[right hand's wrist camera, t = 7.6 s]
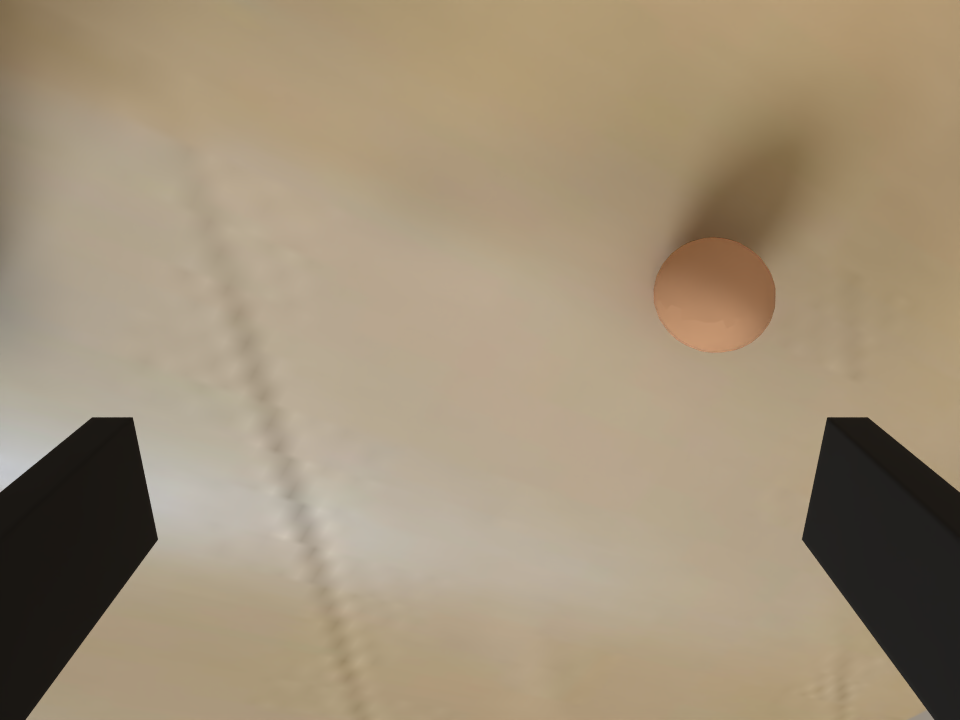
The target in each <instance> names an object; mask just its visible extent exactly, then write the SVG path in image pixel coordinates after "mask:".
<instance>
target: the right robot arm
mask: <svg viewBox="0 0 960 720" xmlns="http://www.w3.org/2000/svg"><path fill="white" fill-rule="evenodd" d="M157 540H158V537H157V532H156V528H155V523H154V518H153V513H152V508H151V503H150V499H149V494H148V489H147V484H146V479H145V474H144V470H143V465H142V460H141V455H140V450H139V445H138V441H137V436H136V431H135V426H134V421H133V417H92V418H91V419H90V420H89V421H87V422H86V423H85V424H84V425H82V426H81V427H80V428H79V429H77V430H76V431H75V432H74V433H73V434H71V435H70V436H69V437H68V438H66V439H65V440H64V441H63V442H62V443H60V444H59V445H58V446H57V447H55V448H54V449H53V450H52V451H51V452H49V453H48V454H47V455H46V456H44V457H43V458H42V459H41V460H39V461H38V462H37V463H36V464H35V465H33V466H32V467H31V468H30V469H28V470H27V471H26V472H25V473H24V474H22V475H21V476H20V477H19V478H17V479H16V480H15V481H14V482H12V483H11V484H10V485H9V486H8V487H6V488H5V489H4V490H3V491H1V492H0V720H26V718H27V717H28V716H29V714H30V713H31V712H32V710H33V709H34V707H35V706H36V705H37V703H38V702H39V701H40V699H41V698H42V697H43V695H44V694H45V692H46V691H47V690H48V688H49V687H50V686H51V684H52V683H53V682H54V680H55V679H56V677H57V676H58V675H59V673H60V672H61V671H62V669H63V668H64V667H65V665H66V664H67V663H68V661H69V660H70V658H71V657H72V656H73V654H74V653H75V652H76V650H77V649H78V648H79V646H80V645H81V643H82V642H83V641H84V639H85V638H86V637H87V635H88V634H89V633H90V631H91V630H92V629H93V627H94V626H95V624H96V623H97V622H98V620H99V619H100V618H101V616H102V615H103V614H104V612H105V611H106V609H107V608H108V607H109V605H110V604H111V603H112V601H113V600H114V599H115V597H116V596H117V595H118V593H119V592H120V590H121V589H122V588H123V586H124V585H125V584H126V582H127V581H128V580H129V578H130V577H131V575H132V574H133V573H134V571H135V570H136V569H137V567H138V566H139V565H140V563H141V562H142V561H143V559H144V558H145V556H146V555H147V554H148V552H149V551H150V550H151V548H152V547H153V546H154V544H155V543H156V541H157ZM802 540H803V541H804V543H805V544H806V546H807V547H808V548H809V550H810V551H811V552H812V554H813V555H814V556H815V558H816V559H817V561H818V562H819V563H820V565H821V566H822V567H823V569H824V570H825V571H826V573H827V574H828V576H829V577H830V578H831V580H832V581H833V582H834V584H835V585H836V586H837V588H838V589H839V590H840V592H841V593H842V595H843V596H844V597H845V599H846V600H847V601H848V603H849V604H850V605H851V607H852V608H853V610H854V611H855V612H856V614H857V615H858V616H859V618H860V619H861V620H862V622H863V623H864V624H865V626H866V627H867V629H868V630H869V631H870V633H871V634H872V635H873V637H874V638H875V639H876V641H877V642H878V644H879V645H880V646H881V648H882V649H883V650H884V652H885V653H886V654H887V656H888V657H889V658H890V660H891V661H892V663H893V664H894V665H895V667H896V668H897V669H898V671H899V672H900V673H901V675H902V676H903V678H904V679H905V680H906V682H907V683H908V684H909V686H910V687H911V688H912V690H913V691H914V692H915V694H916V695H917V697H918V698H919V699H920V701H921V702H922V703H923V705H924V706H925V707H926V709H927V710H928V712H929V713H930V714H931V716H932V717H933V718H934V720H960V492H959V491H957V490H956V489H955V488H954V487H952V486H951V485H950V484H949V483H947V482H946V481H945V480H944V479H943V478H941V477H940V476H939V475H938V474H936V473H935V472H934V471H933V470H932V469H930V468H929V467H928V466H927V465H925V464H924V463H923V462H922V461H921V460H919V459H918V458H917V457H916V456H914V455H913V454H912V453H911V452H909V451H908V450H907V449H906V448H905V447H903V446H902V445H901V444H900V443H898V442H897V441H896V440H895V439H894V438H892V437H891V436H890V435H889V434H887V433H886V432H885V431H884V430H882V429H881V428H880V427H879V426H878V425H876V424H875V423H874V422H873V421H871V420H870V419H869V418H868V417H827V421H826V426H825V431H824V436H823V440H822V445H821V450H820V455H819V460H818V465H817V469H816V474H815V479H814V484H813V489H812V494H811V498H810V503H809V508H808V513H807V518H806V523H805V527H804V532H803V537H802Z"/></svg>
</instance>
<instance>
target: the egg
mask: <svg viewBox="0 0 960 720" xmlns="http://www.w3.org/2000/svg"><path fill="white" fill-rule="evenodd" d="M654 304H655V307H656V310H657V313H658V316H659V319H660V320H661V322H662V323H663V325H664V326H665V328H666V329H667V330H668V332H669V333H671V334H672V335H673V336H674V337H675V338H676V339H677V340H679V341H680V342H682V343H683V344H685V345H687V346H689V347H692V348H695V349H697V350H700V351H704V352H726V351H732V350H736V349H739V348H742V347H744V346H746V345H748V344H750V343H751V342H753V341H754V340H755V339H756V338H757V337H759V336H760V335H761V334H762V333H763V331H764V330H765V329H766V327H767V326H768V325H769V323H770V321H771V318H772V315H773V312H774V308H775V285H774V281H773V278H772V275H771V273H770V271H769V269H768V268H767V266H766V265H765V263H764V262H763V261H762V259H761V258H760V257H759V256H758V255H757V254H755V253H754V252H753V251H752V250H750V249H749V248H747V247H745V246H744V245H742V244H740V243H739V242H736V241H732V240H729V239H724V238H716V237H711V238H703V239H699V240H695V241H692V242H689V243H687V244H685V245H683V246H681V247H680V248H679V249H677V250H676V251H675V252H673V253H672V254H671V255H670V256H669V257H668V259H667V260H666V261H665V262H664V263H663V265H662V267H661V269H660V271H659V273H658V275H657V277H656V282H655V286H654Z"/></svg>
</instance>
